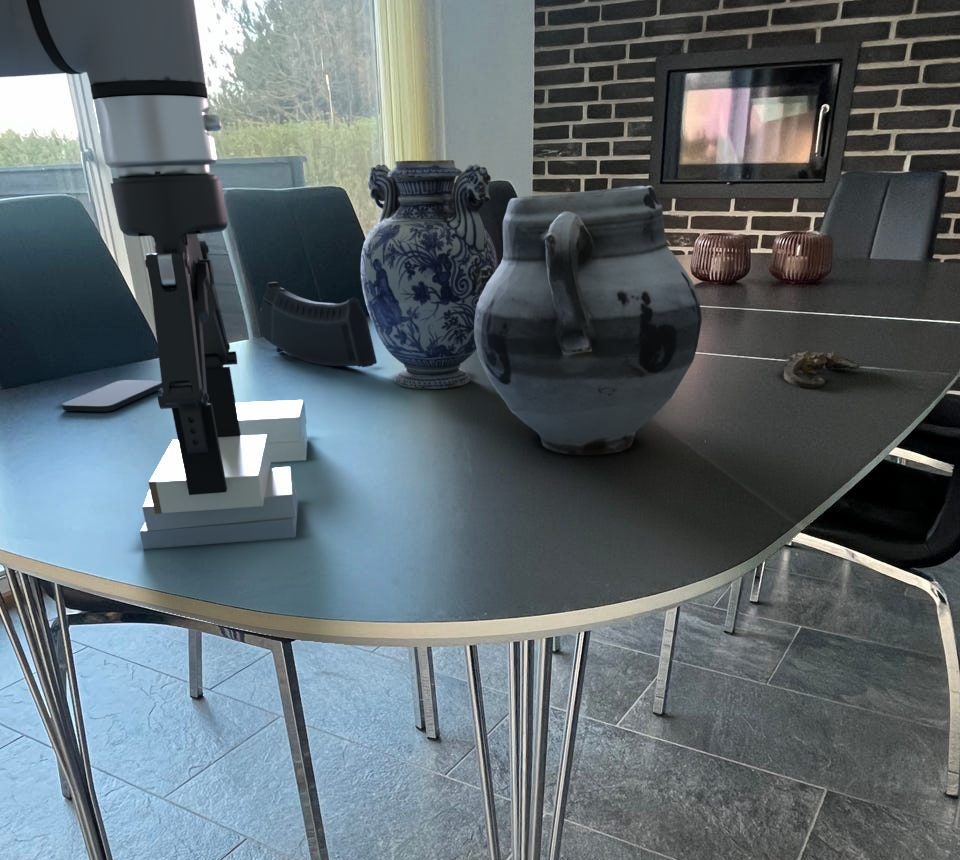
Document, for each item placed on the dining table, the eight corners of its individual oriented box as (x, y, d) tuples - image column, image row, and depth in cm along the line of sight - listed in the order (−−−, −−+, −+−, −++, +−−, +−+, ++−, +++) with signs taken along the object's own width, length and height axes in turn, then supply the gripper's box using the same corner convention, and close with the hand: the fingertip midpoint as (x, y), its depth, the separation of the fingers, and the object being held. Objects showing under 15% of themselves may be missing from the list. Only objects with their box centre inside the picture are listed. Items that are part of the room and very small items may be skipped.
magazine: (382, 311, 125) (276, 237, 140) (364, 313, 123) (258, 239, 139) (372, 418, 136) (275, 339, 152) (355, 421, 135) (258, 342, 150)
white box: (144, 555, 69) (133, 507, 67) (161, 519, 77) (152, 475, 75) (298, 543, 71) (292, 496, 69) (300, 509, 78) (295, 465, 76)
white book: (154, 514, 66) (148, 482, 65) (177, 468, 76) (172, 439, 75) (263, 506, 67) (258, 475, 66) (271, 462, 77) (267, 434, 76)
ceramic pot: (676, 497, 79) (704, 188, 67) (439, 480, 85) (426, 193, 73) (698, 419, 103) (721, 182, 91) (512, 410, 109) (512, 186, 97)
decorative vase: (531, 379, 125) (534, 157, 111) (446, 404, 112) (437, 158, 99) (423, 363, 137) (413, 161, 124) (335, 384, 124) (314, 162, 111)
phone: (57, 405, 113) (119, 379, 125) (58, 411, 113) (121, 385, 126) (108, 406, 111) (166, 380, 124) (110, 413, 112) (167, 386, 125)
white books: (188, 472, 88) (179, 424, 86) (198, 450, 96) (190, 405, 93) (308, 465, 90) (302, 416, 88) (309, 443, 97) (303, 398, 95)
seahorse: (754, 379, 121) (757, 357, 120) (814, 362, 131) (817, 341, 129) (814, 390, 115) (818, 366, 114) (872, 371, 125) (877, 349, 123)
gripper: (197, 168, 50) (253, 513, 60) (235, 171, 72) (272, 424, 82) (62, 172, 49) (142, 522, 60) (142, 174, 71) (191, 430, 81)
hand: (218, 466), depth 71 cm, fingers open, 13 cm apart
